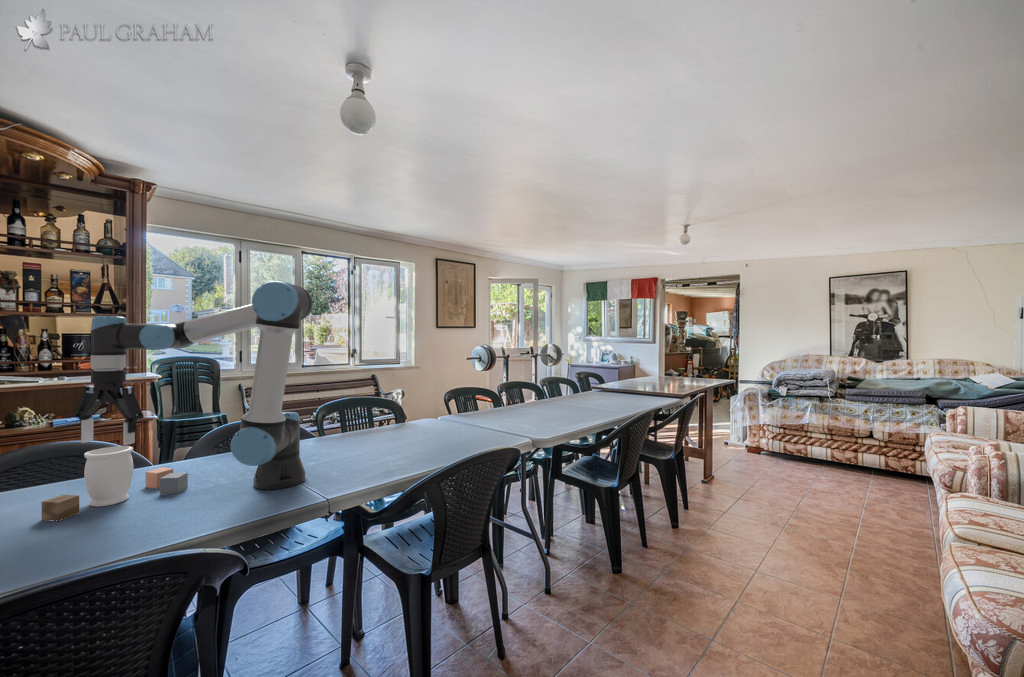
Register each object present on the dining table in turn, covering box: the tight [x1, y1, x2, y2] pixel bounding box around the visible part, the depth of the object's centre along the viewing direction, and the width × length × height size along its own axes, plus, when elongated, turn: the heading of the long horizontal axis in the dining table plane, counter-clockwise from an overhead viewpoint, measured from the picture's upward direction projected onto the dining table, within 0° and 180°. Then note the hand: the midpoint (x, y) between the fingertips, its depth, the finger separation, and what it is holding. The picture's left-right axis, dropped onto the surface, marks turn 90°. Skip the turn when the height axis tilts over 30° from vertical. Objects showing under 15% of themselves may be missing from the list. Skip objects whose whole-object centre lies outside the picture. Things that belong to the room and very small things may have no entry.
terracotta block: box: [145, 466, 174, 490], centre depth 142 cm, size 5×5×5 cm
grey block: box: [159, 472, 189, 495], centre depth 137 cm, size 5×5×5 cm
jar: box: [83, 445, 134, 508], centre depth 128 cm, size 11×10×15 cm
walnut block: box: [41, 494, 80, 522], centre depth 118 cm, size 5×5×5 cm
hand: (108, 443), depth 128 cm, fingers open, 13 cm apart
